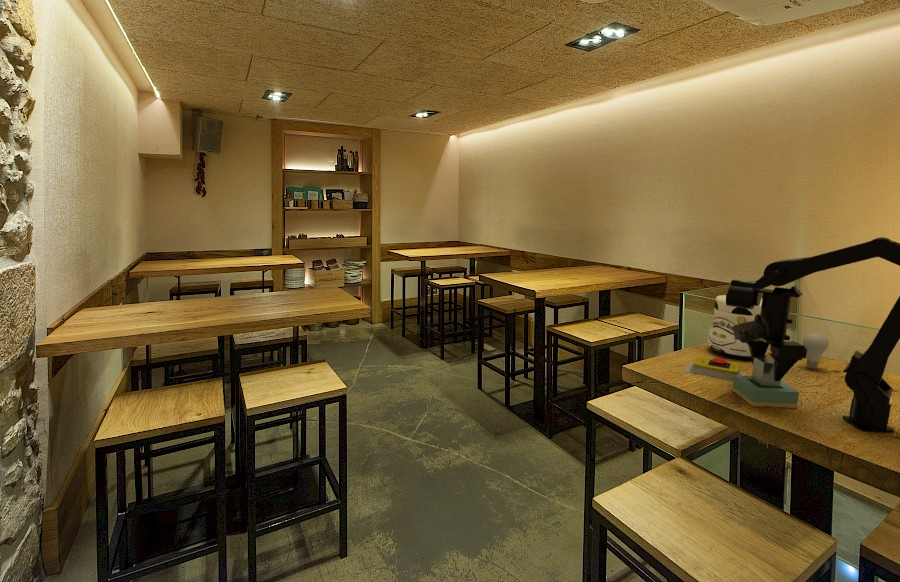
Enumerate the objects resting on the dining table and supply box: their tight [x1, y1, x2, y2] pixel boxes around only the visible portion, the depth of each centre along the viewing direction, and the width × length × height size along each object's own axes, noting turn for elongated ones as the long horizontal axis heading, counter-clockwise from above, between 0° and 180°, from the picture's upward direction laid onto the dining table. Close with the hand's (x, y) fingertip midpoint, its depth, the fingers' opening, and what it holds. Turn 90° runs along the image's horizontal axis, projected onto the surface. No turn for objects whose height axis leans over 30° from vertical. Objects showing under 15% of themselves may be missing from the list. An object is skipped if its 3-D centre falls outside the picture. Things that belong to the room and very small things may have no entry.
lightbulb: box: [802, 332, 830, 370], centre depth 141 cm, size 6×6×11 cm
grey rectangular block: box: [751, 356, 782, 388], centre depth 119 cm, size 4×4×9 cm
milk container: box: [707, 294, 770, 359], centre depth 154 cm, size 17×17×18 cm
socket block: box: [731, 375, 800, 409], centre depth 119 cm, size 10×10×4 cm
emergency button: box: [683, 356, 746, 382], centre depth 138 cm, size 9×4×15 cm
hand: (766, 374), depth 119 cm, fingers open, 9 cm apart
